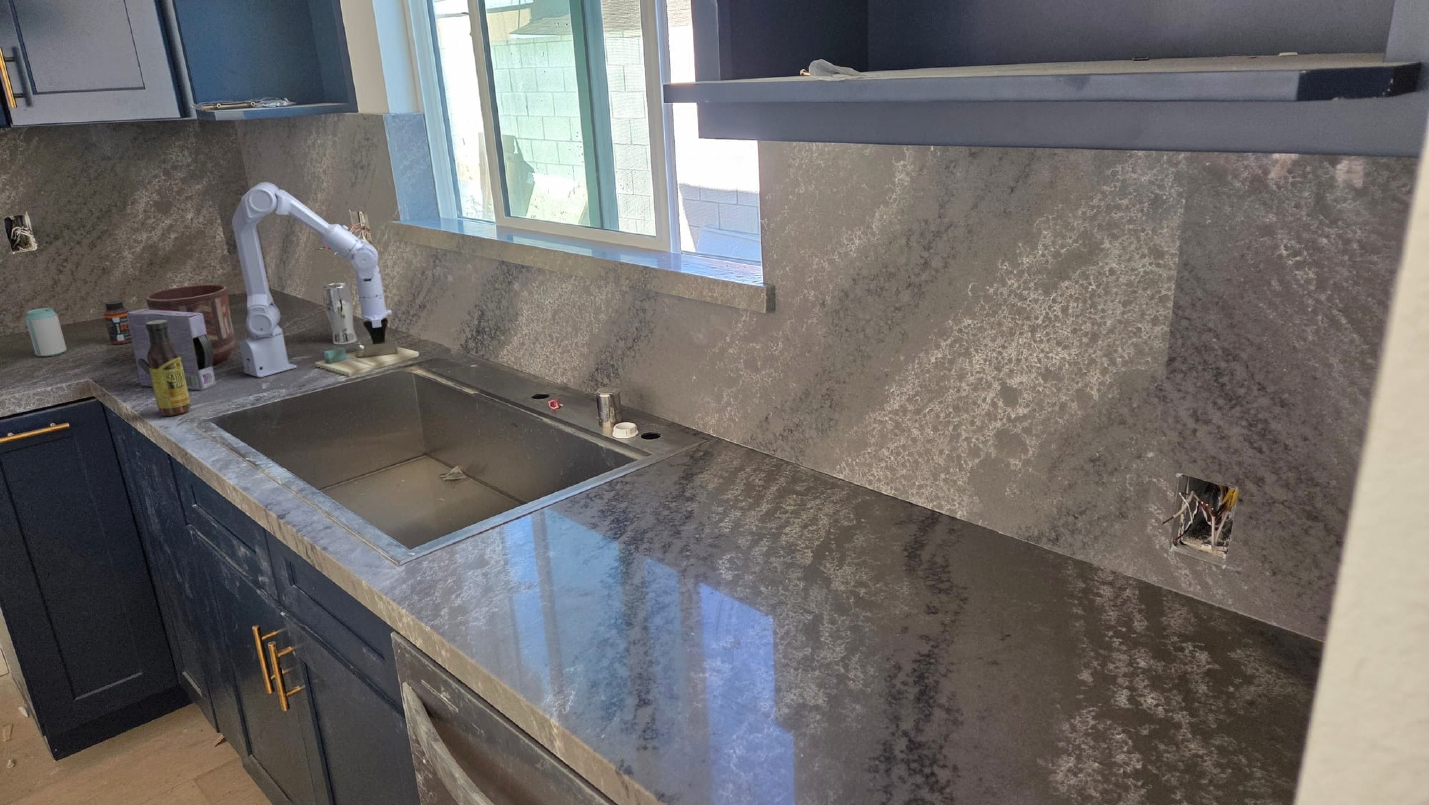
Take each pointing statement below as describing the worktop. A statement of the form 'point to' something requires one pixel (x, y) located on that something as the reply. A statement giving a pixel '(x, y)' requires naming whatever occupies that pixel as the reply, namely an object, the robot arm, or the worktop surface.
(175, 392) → the sauce bottle
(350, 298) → the beer glass
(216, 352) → the pottery
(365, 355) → the swing bar
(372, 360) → the board
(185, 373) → the cake pan box
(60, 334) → the can
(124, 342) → the supplement bottle
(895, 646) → the worktop surface
